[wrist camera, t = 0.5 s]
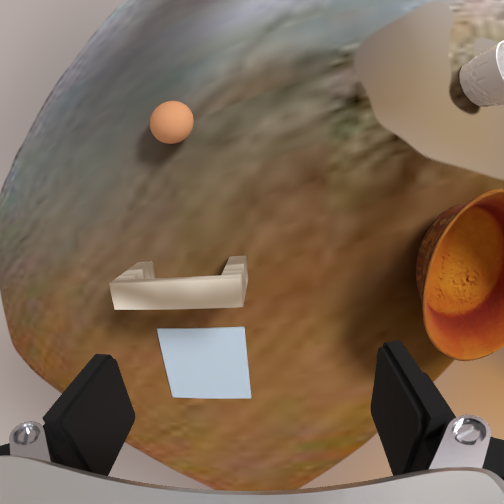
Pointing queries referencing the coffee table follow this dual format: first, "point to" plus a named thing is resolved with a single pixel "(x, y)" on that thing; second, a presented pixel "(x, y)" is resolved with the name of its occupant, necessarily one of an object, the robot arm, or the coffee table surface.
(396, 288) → the coffee table surface
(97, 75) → the coffee table surface
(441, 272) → the bowl
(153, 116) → the ball
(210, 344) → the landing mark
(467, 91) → the white cup
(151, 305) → the bridge
